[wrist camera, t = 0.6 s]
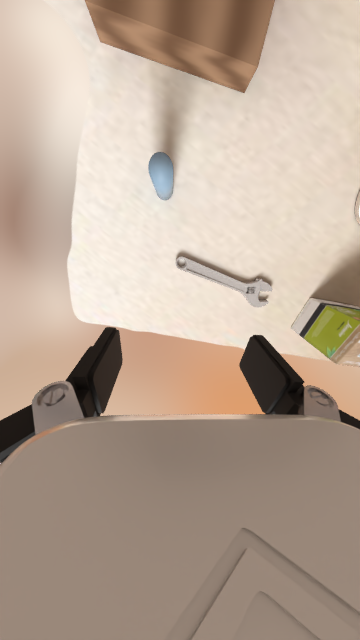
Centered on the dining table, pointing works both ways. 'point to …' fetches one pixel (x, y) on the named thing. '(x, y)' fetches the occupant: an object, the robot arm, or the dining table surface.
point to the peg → (162, 174)
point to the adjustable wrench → (228, 281)
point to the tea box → (331, 330)
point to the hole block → (189, 34)
